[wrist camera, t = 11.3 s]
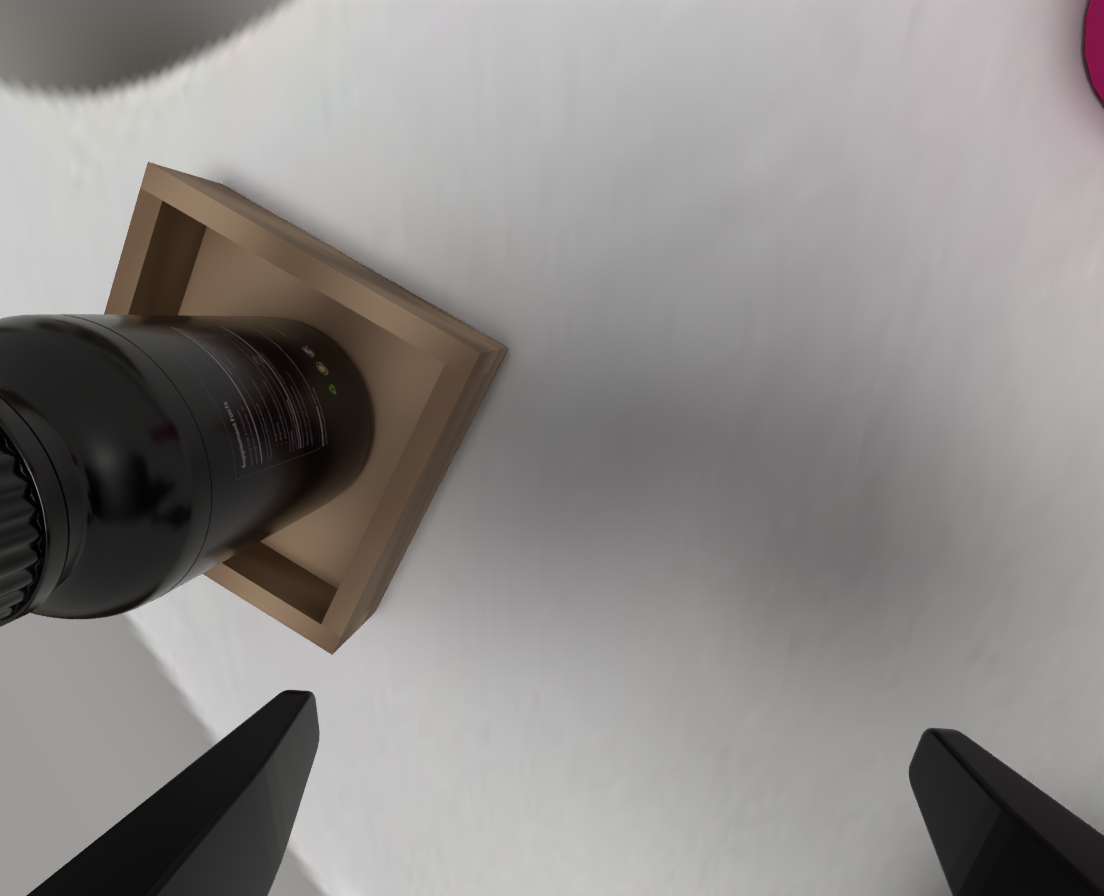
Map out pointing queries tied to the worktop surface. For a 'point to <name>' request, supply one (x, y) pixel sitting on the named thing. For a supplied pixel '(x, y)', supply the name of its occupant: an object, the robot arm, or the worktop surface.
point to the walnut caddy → (369, 345)
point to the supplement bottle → (160, 450)
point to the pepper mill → (1095, 44)
